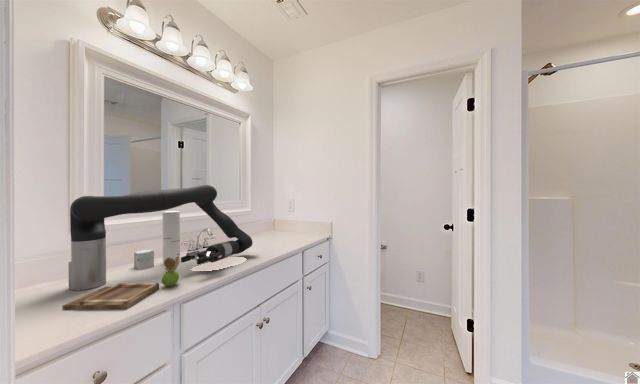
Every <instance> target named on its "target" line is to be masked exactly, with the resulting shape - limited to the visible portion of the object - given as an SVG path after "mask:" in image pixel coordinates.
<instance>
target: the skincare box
mask: <svg viewBox="0 0 640 384" xmlns="http://www.w3.org/2000/svg"><path fill="white" fill-rule="evenodd" d="M154 266H155V251H154V250H152V249H150V248H149V249H142V250H138V251H137V250H136V251H134V252H133V268H135V269H137V270H144V269H148V268H153V267H154Z"/></svg>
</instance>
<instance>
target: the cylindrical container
mask: <svg viewBox="0 0 640 384" xmlns="http://www.w3.org/2000/svg"><path fill="white" fill-rule="evenodd" d="M180 213H181V212H180V211H179V210H169V211H167V210H166V211H162V265H163V266H165V265H164V261H165V259H166V258H168V257H171V258H173V259H174V260H175V258H176V257H177V254H178V253H180V255H178V257H179V263H181V222H180V221H181V217H180V216H181V215H180Z"/></svg>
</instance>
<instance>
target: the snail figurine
mask: <svg viewBox="0 0 640 384" xmlns="http://www.w3.org/2000/svg"><path fill="white" fill-rule="evenodd" d="M178 255H180V256H181V252H180V253H178V254H177V257H176V258H175V260H174V259H173V258H171V257H168V258H166V259H165V261H164V265H163V266H164V270H165V271H166V272H164V273H163V275H162V276H161V283H162V284H163V286H165V287H173V286H175V285H176V284H177V283H178V281H179V279H180V274H179V273H178V272H177V271H176V270H177V269H178V266H179V263H180V262H179V257H178Z"/></svg>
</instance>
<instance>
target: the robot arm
mask: <svg viewBox="0 0 640 384" xmlns="http://www.w3.org/2000/svg"><path fill="white" fill-rule="evenodd" d="M217 196H218V191H217V189H216V188H215V187H213V186H212V185H208V184H203V185H198V186H192V187H187V188H186V187H184V188H171V189H170V188H169V189H154V190H145V191H140V192H134V193H130V194H125V195H111V196H109V195H108V196H99V195H98V196H97V195H95V196H94V195H85V196H83V195H82V196H81V197H78V198H76V199H75V200H73V202H71V204H70V208H69V217H70V219H69V220H70V221H69V223H70V224H69V225H70V229H69V231H70V247H71V248H70V250H71V253H70V255H71V258H70V259H71V260H70V261H68V289H69V290H72V291H83V290H90V289H94V288H97V287H100V286H103V285H105V284H106V283H107V236H106V235H107V231H106V228H105V227H106V225H105V219H106V218H111V217H116V216H121V215H130V214H132V215H133V214H134V215H135V214H145V213H146V214H147V213H154V212H155V213H156V212H164V211H167V210H172V209H174V208H177V207H181V206H183V205H186V204H191V203H194V204H195V205H197V206H198V207H199V208H200V209H201V210H202V211H203V212H204V213H205V214H206V215H208V217H210V218H211V220H213V222H214V223H215V224H216V225H217V226H218V227H219V229H220V230H221V231H222V233H224V234H225V236H226V237H227V238H228V239H232V240H228V241H225V242H223V241H222V242H218V243H214V244H211V245H209V246H207V248H206V249H205V250H201V251H200V250H196V251H191V252H188V253H186V255H184V256H180V263H185V262H190V261H196V264H197V265H202V264H205V263H215V262H218V261H221V260H224V259H227V258H228V257H231V256H233V255H239V254H242V253H243V252H244V251H247V250H248V249H250V248H252V246H253V239H252V237H251V236H250V235H249V234H247V233H246V232H245V231H243V230H242V229H241V228H240V227H238V225H237V224H236V223H235V221H234V220H233V219H232V218H231V217H230V216H228V215H227V214H226V213H224V212H223V211H222V210H221V209H219V208H218V207H217V205H216V204H215V203H214V201H215V200H216V198H217ZM233 238H236V240H234V239H233Z"/></svg>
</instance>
